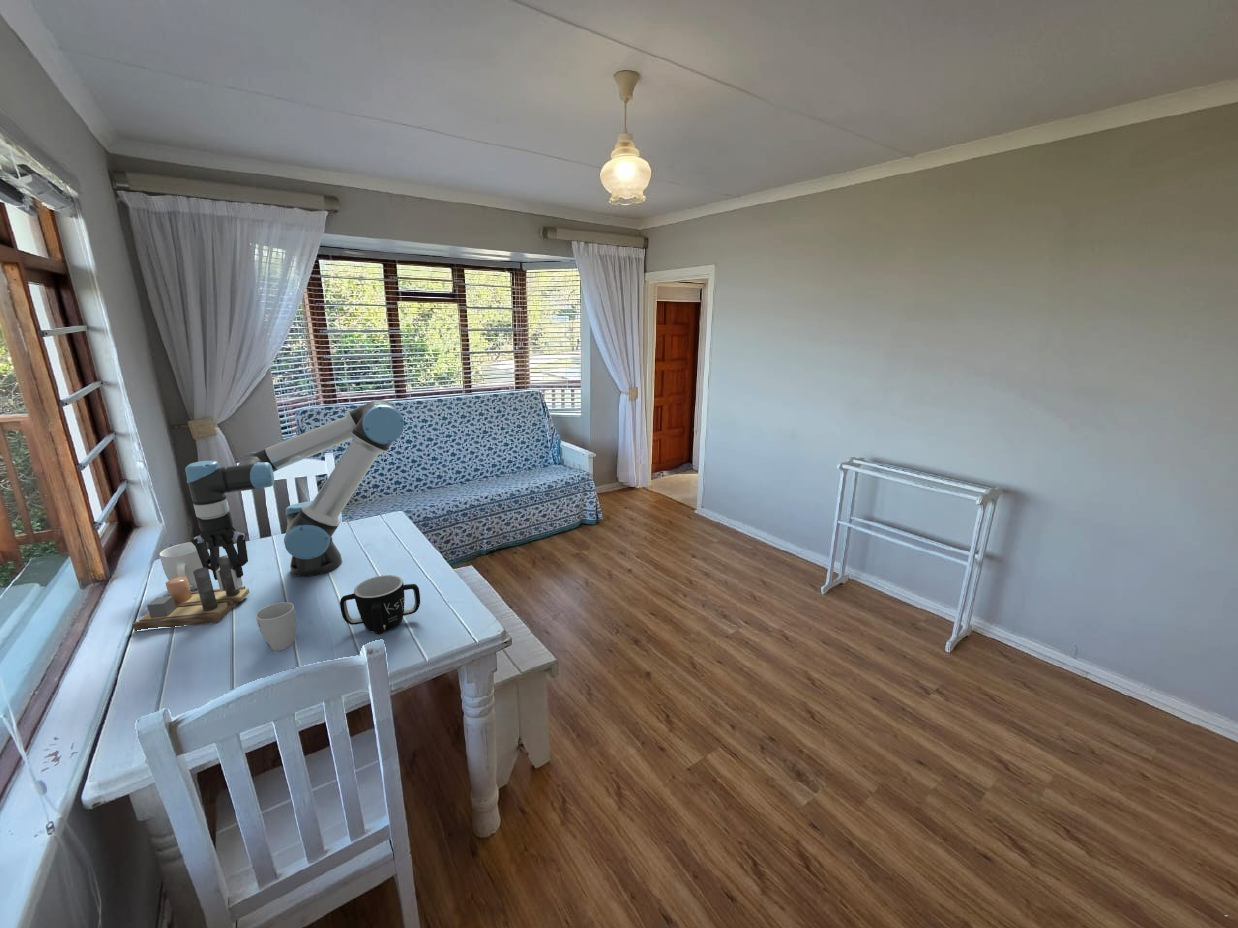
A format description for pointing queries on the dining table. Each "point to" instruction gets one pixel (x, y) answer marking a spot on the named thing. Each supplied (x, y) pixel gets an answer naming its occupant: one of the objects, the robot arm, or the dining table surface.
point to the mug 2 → (380, 603)
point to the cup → (277, 625)
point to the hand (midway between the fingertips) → (231, 587)
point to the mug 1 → (181, 562)
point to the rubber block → (161, 606)
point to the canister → (179, 589)
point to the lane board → (187, 619)
